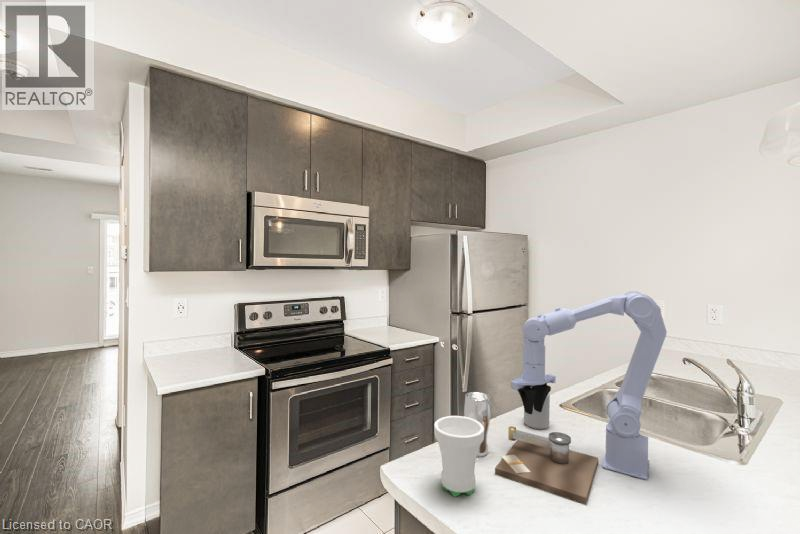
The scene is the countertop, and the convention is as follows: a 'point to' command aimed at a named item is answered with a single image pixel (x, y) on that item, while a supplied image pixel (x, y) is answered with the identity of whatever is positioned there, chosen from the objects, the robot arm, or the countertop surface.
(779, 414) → the countertop surface
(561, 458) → the grey bar with knobs
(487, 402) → the beer glass
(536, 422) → the can
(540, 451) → the brown flat wooden board
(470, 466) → the cup
